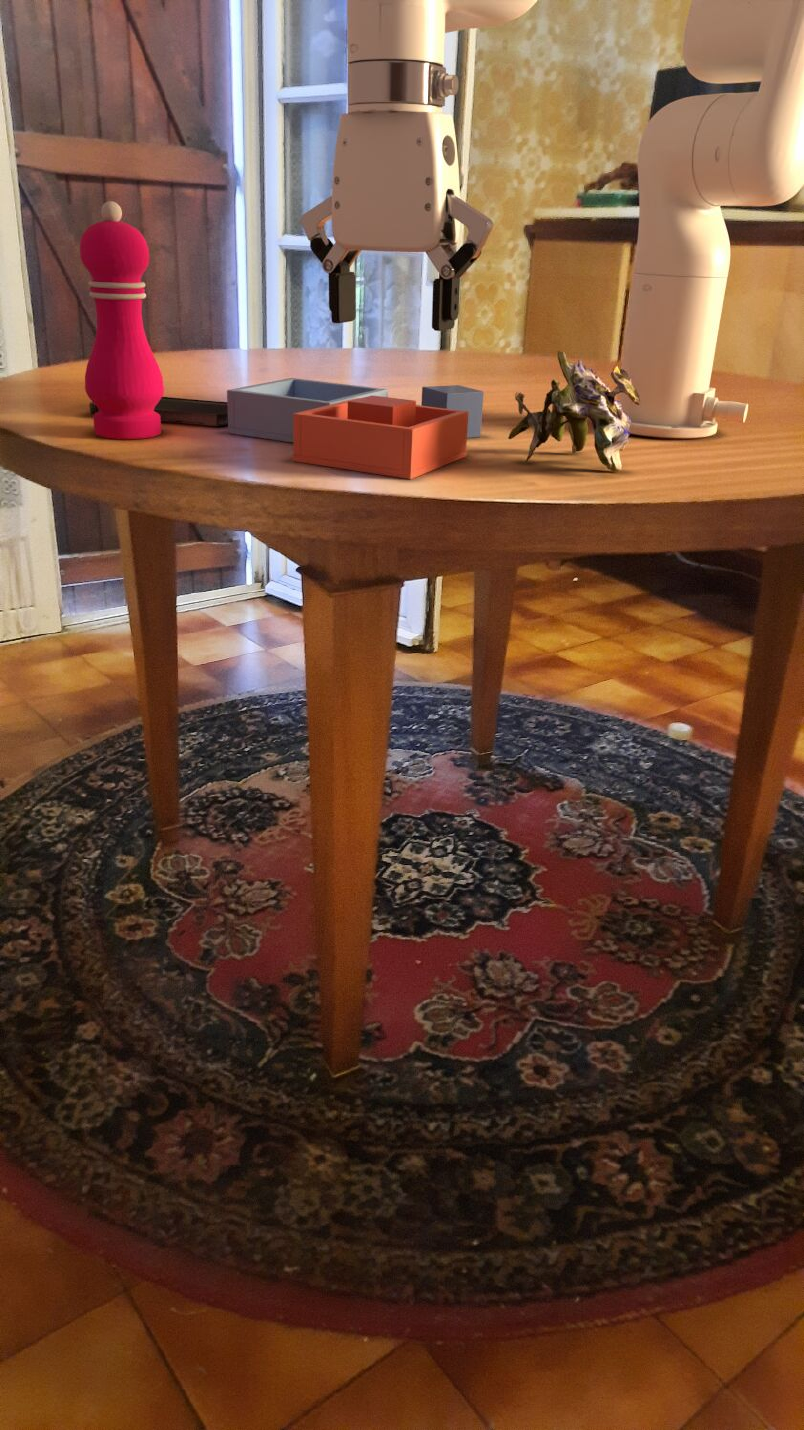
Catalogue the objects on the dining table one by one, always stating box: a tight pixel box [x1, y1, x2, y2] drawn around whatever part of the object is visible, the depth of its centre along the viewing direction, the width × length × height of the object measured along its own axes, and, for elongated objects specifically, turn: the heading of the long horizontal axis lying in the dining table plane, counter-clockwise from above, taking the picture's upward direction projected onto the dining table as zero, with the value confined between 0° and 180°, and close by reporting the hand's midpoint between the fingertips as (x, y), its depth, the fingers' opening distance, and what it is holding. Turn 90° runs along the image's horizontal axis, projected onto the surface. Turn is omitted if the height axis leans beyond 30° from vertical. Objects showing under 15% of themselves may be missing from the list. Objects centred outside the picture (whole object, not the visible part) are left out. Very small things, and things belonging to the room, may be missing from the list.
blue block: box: [420, 384, 485, 439], centre depth 104 cm, size 4×4×4 cm
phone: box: [89, 396, 228, 427], centre depth 107 cm, size 8×1×15 cm
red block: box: [348, 395, 417, 427], centre depth 91 cm, size 4×4×4 cm
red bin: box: [292, 398, 469, 480], centre depth 91 cm, size 12×12×4 cm
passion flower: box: [507, 350, 641, 473], centre depth 92 cm, size 11×11×12 cm
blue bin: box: [226, 377, 389, 444], centre depth 102 cm, size 12×12×4 cm
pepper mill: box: [79, 200, 165, 440], centre depth 94 cm, size 7×7×20 cm
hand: (392, 325), depth 88 cm, fingers open, 9 cm apart
